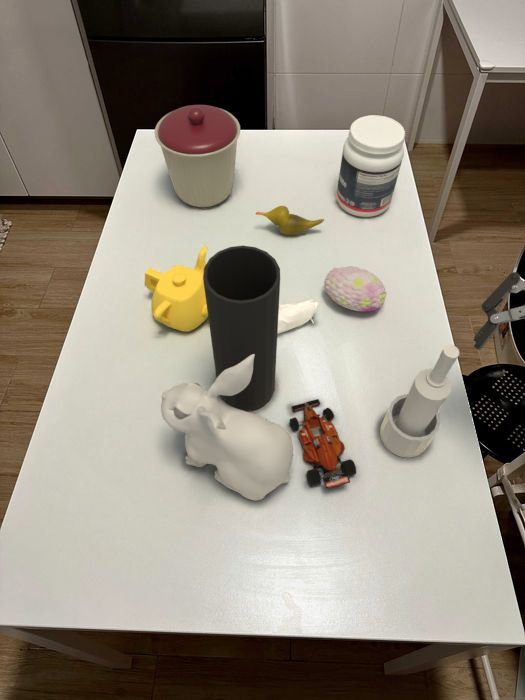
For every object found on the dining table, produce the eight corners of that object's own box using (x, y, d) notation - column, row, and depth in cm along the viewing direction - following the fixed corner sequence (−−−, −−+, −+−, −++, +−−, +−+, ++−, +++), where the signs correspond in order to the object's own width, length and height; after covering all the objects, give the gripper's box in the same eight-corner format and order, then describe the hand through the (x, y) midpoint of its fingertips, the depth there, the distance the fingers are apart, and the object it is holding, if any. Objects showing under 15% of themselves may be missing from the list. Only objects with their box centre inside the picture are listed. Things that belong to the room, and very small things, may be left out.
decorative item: (325, 259, 104) (357, 250, 95) (364, 283, 109) (398, 277, 100) (311, 300, 102) (342, 294, 93) (352, 322, 107) (385, 319, 98)
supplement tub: (334, 182, 125) (344, 111, 109) (387, 184, 124) (405, 113, 109) (336, 219, 117) (347, 148, 102) (392, 221, 117) (412, 150, 102)
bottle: (386, 421, 88) (425, 337, 68) (415, 417, 89) (462, 332, 68) (396, 449, 85) (439, 371, 65) (425, 444, 86) (478, 364, 65)
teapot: (226, 329, 100) (224, 296, 92) (158, 344, 98) (149, 312, 90) (210, 277, 107) (206, 243, 99) (146, 291, 105) (137, 257, 97)
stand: (438, 436, 87) (450, 418, 82) (407, 467, 84) (418, 450, 79) (400, 404, 91) (410, 385, 85) (369, 433, 88) (377, 414, 82)
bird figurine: (299, 309, 104) (256, 319, 100) (312, 290, 99) (267, 300, 94) (310, 329, 103) (267, 341, 98) (323, 311, 97) (279, 322, 93)
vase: (231, 355, 96) (221, 237, 72) (282, 371, 95) (290, 256, 70) (209, 401, 91) (190, 290, 66) (263, 419, 89) (264, 312, 64)
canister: (166, 170, 127) (151, 86, 109) (239, 166, 128) (236, 82, 110) (166, 221, 117) (149, 137, 99) (245, 215, 118) (242, 132, 100)
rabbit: (191, 409, 90) (171, 324, 69) (301, 453, 86) (315, 375, 65) (159, 467, 84) (126, 392, 63) (275, 517, 80) (281, 454, 59)
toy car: (325, 398, 91) (328, 386, 88) (359, 486, 83) (363, 476, 79) (283, 408, 90) (284, 396, 87) (313, 498, 81) (315, 489, 78)
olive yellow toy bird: (256, 223, 117) (256, 200, 111) (322, 226, 116) (325, 204, 111) (254, 236, 114) (254, 213, 109) (322, 240, 114) (325, 217, 108)
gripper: (542, 224, 60) (452, 334, 66) (662, 294, 54) (553, 408, 60) (546, 237, 67) (464, 336, 72) (653, 301, 61) (555, 404, 66)
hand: (504, 369), depth 66 cm, fingers open, 8 cm apart
